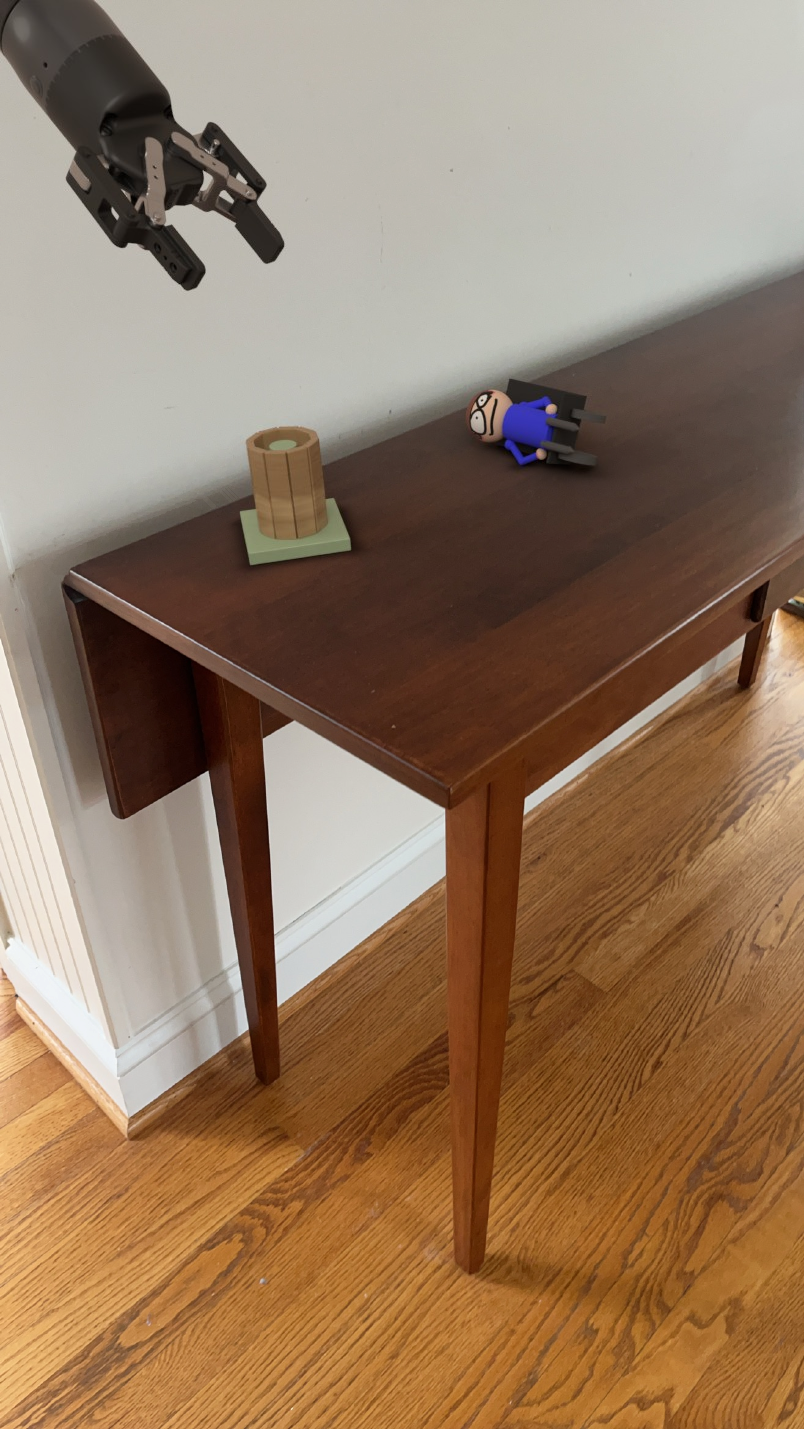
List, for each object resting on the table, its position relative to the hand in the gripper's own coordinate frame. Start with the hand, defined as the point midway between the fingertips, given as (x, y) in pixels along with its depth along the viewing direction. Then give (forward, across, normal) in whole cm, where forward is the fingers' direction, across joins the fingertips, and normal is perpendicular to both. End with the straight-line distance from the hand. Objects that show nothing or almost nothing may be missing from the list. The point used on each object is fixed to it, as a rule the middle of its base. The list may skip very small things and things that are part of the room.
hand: (239, 268), depth 72 cm
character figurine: (+23, +33, +13) cm, 42 cm away
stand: (+14, +8, +21) cm, 27 cm away
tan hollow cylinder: (+14, +8, +20) cm, 25 cm away
